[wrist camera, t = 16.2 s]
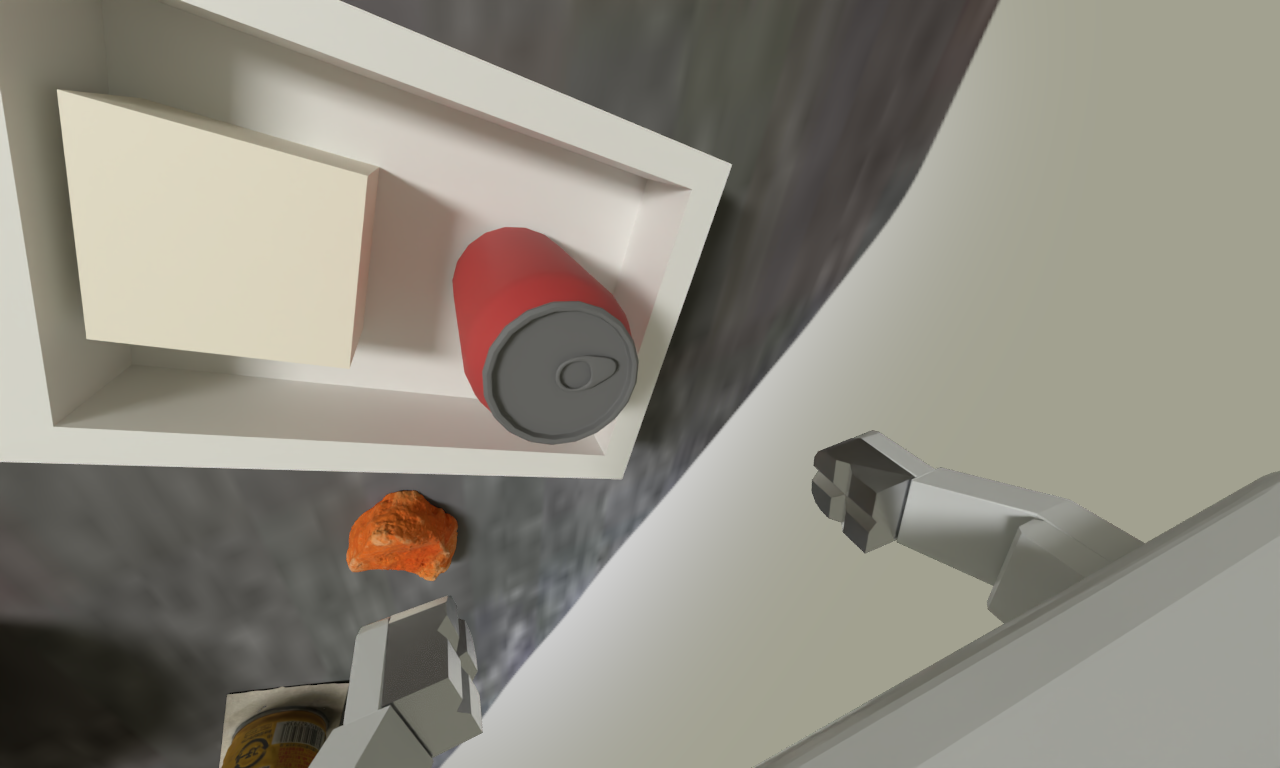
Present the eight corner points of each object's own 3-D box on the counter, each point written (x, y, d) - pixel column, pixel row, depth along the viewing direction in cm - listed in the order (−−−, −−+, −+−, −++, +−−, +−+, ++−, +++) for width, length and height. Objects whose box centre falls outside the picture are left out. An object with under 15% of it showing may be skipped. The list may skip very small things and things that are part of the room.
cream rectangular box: (141, 98, 18) (57, 89, 14) (379, 167, 22) (367, 175, 18) (154, 297, 21) (86, 339, 17) (362, 328, 24) (349, 368, 20)
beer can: (579, 328, 29) (656, 432, 19) (468, 351, 27) (490, 478, 17) (564, 217, 26) (648, 272, 16) (437, 233, 24) (442, 307, 14)
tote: (45, -93, 16) (-149, -204, 11) (673, 157, 27) (731, 164, 22) (98, 381, 22) (-6, 461, 17) (591, 423, 34) (622, 479, 28)
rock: (438, 601, 37) (439, 650, 33) (260, 562, 30) (237, 620, 26) (529, 488, 35) (540, 528, 32) (362, 420, 28) (352, 461, 25)
